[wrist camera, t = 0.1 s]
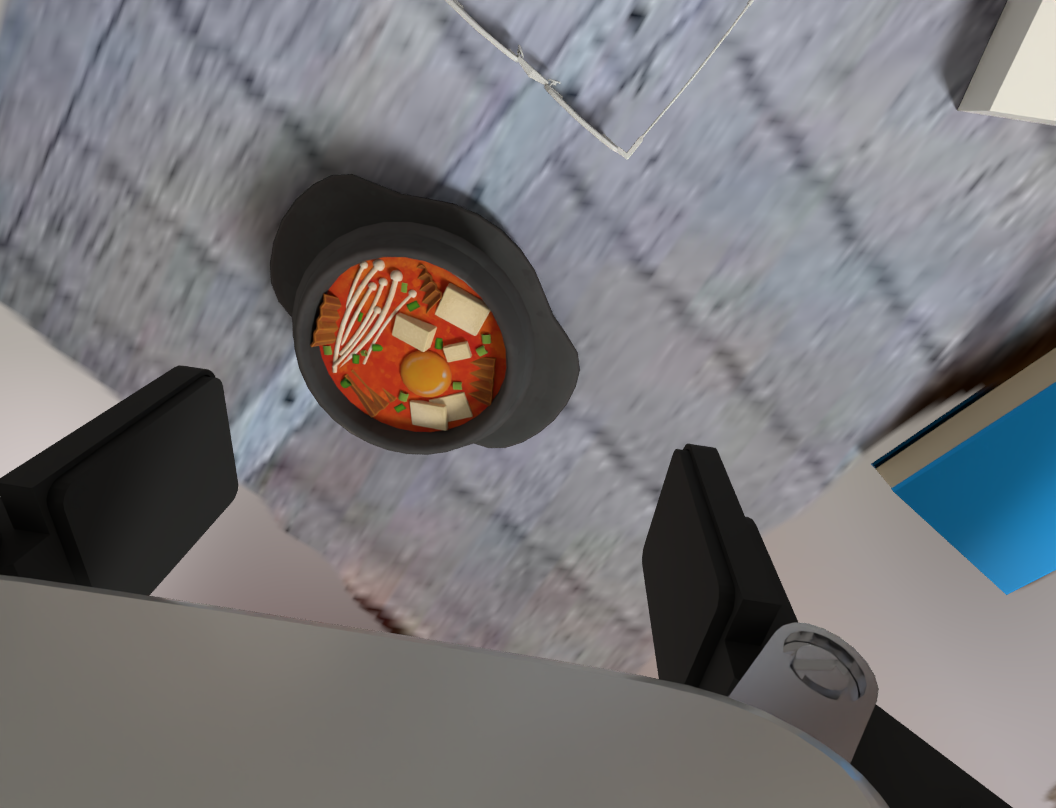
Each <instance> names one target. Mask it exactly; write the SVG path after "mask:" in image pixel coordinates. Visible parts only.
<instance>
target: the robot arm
mask: <svg viewBox="0 0 1056 808" xmlns="http://www.w3.org/2000/svg"><path fill="white" fill-rule="evenodd" d="M237 491H238V479H237V473H236V466H235V460H234V454H233V447H232V441H231V435H230V428H229V422H228V416H227V409H226V403H225V396H224V390H223V385H222V382H221V381H220V379H218V378H215V375H214V374H213V372H212V371H210V370H207V369H201V368H194V367H188V366H177V367H174V368H173V369H171V370H170V371H168V372H166V373H165V374H163V375H162V376H160V377H159V378H157V379H155V380H154V381H152V382H151V383H149V384H148V385H146V386H144V387H143V388H141V389H140V390H138V391H137V392H135V393H133V394H132V395H130V396H129V397H127V398H126V399H124V400H122V401H121V402H119V403H118V404H116V405H115V406H113V407H111V408H110V409H108V410H107V411H105V412H104V413H102V414H100V415H99V416H97V417H96V418H94V419H93V420H91V421H89V422H88V423H86V424H85V425H83V426H82V427H80V428H78V429H77V430H75V431H74V432H72V433H71V434H69V435H67V436H66V437H64V438H63V439H61V440H60V441H58V442H56V443H55V444H53V445H52V446H50V447H49V448H47V449H45V450H44V451H42V452H41V453H39V454H38V455H36V456H35V457H33V458H31V459H30V460H28V461H27V462H25V463H24V464H22V465H20V466H19V467H17V468H16V469H14V470H12V471H11V472H9V473H8V474H6V475H5V476H3V477H2V478H0V808H1012V807H1011V806H1010V805H1009V804H1007V803H1006V802H1004V801H1003V800H1002V799H1000V798H999V797H998V796H997V795H995V794H994V793H993V792H991V791H990V790H989V789H987V788H986V787H985V786H983V785H982V784H981V783H979V782H978V781H977V780H975V779H974V778H972V777H971V776H970V775H969V774H967V773H966V772H965V771H963V770H962V769H961V768H960V767H958V766H957V765H956V764H954V763H953V762H952V761H950V760H949V759H948V758H946V757H945V756H944V755H942V754H941V753H940V752H938V751H937V750H935V749H934V748H933V747H931V746H930V745H929V744H928V743H926V742H925V741H924V740H922V739H921V738H920V737H918V736H917V735H916V734H914V733H913V732H912V731H910V730H909V729H908V728H907V727H905V726H904V725H902V724H901V723H900V722H899V721H897V720H896V719H894V718H893V717H892V716H890V715H889V714H888V713H887V712H885V711H884V710H883V709H881V708H880V707H879V706H877V705H876V702H877V697H878V690H879V689H878V685H877V682H876V678H875V675H874V673H873V672H872V670H871V668H870V667H869V665H868V663H867V662H866V661H865V660H864V659H863V657H862V656H861V655H860V654H859V653H858V652H857V651H856V650H855V649H854V648H853V647H852V646H851V645H849V644H848V643H847V642H845V641H844V640H843V639H841V638H840V637H839V636H837V635H835V634H833V633H831V632H829V631H827V630H826V629H823V628H820V627H817V626H814V625H811V624H806V623H798V620H797V618H796V616H795V614H794V611H793V609H792V607H791V604H790V602H789V600H788V597H787V595H786V593H785V590H784V588H783V586H782V584H781V581H780V579H779V577H778V574H777V572H776V570H775V568H774V565H773V563H772V561H771V558H770V556H769V554H768V551H767V549H766V547H765V545H764V542H763V540H762V538H761V535H760V533H759V531H758V528H757V526H756V524H755V523H754V521H753V520H752V519H751V518H749V517H745V516H744V513H743V511H742V508H741V506H740V504H739V501H738V499H737V496H736V494H735V491H734V489H733V487H732V484H731V482H730V479H729V477H728V475H727V472H726V470H725V467H724V465H723V463H722V460H721V458H720V455H719V453H718V451H717V449H716V448H713V447H706V446H700V445H693V444H686V445H685V447H684V449H683V450H680V449H676V450H675V451H674V453H673V456H672V459H671V462H670V465H669V468H668V471H667V475H666V478H665V481H664V484H663V487H662V490H661V494H660V497H659V500H658V503H657V506H656V510H655V513H654V516H653V519H652V522H651V525H650V529H649V532H648V535H647V538H646V541H645V545H644V548H643V555H642V566H643V573H644V580H645V587H646V593H647V600H648V607H649V614H650V621H651V628H652V635H653V642H654V648H655V655H656V662H657V668H658V676H659V679H655V678H651V677H646V676H642V675H636V674H631V673H626V672H621V671H615V670H610V669H604V668H598V667H592V666H586V665H580V664H575V663H569V662H564V661H558V660H553V659H547V658H540V657H534V656H528V655H522V654H516V653H510V652H504V651H497V650H491V649H485V648H479V647H473V646H467V645H461V644H455V643H448V642H442V641H436V640H430V639H424V638H418V637H412V636H405V635H399V634H393V633H386V632H379V631H373V630H367V629H361V628H355V627H348V626H342V625H336V624H329V623H323V622H316V621H310V620H303V619H296V618H291V617H284V616H278V615H272V614H265V613H259V612H253V611H246V610H240V609H233V608H227V607H220V606H213V605H207V604H200V603H193V602H187V601H180V600H174V599H166V598H160V597H154V596H149V595H150V594H151V593H152V592H153V591H154V590H155V588H156V587H157V586H158V585H159V584H160V583H161V582H162V581H163V579H164V578H165V577H166V576H167V575H168V574H169V573H170V572H171V570H172V569H173V568H174V567H175V566H176V565H177V564H178V563H179V561H180V560H181V559H182V558H183V557H184V556H185V555H186V553H187V552H188V551H189V550H190V549H191V548H192V547H193V545H194V544H195V543H196V542H197V541H198V540H199V539H200V537H201V536H202V535H203V534H204V533H205V532H206V531H207V530H208V529H209V527H210V526H211V525H212V524H213V523H214V522H215V521H216V519H217V518H218V517H219V516H220V515H221V514H222V513H223V512H224V510H225V509H226V508H227V507H228V506H229V505H230V503H231V502H232V501H233V500H234V498H235V496H236V494H237Z"/></svg>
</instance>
